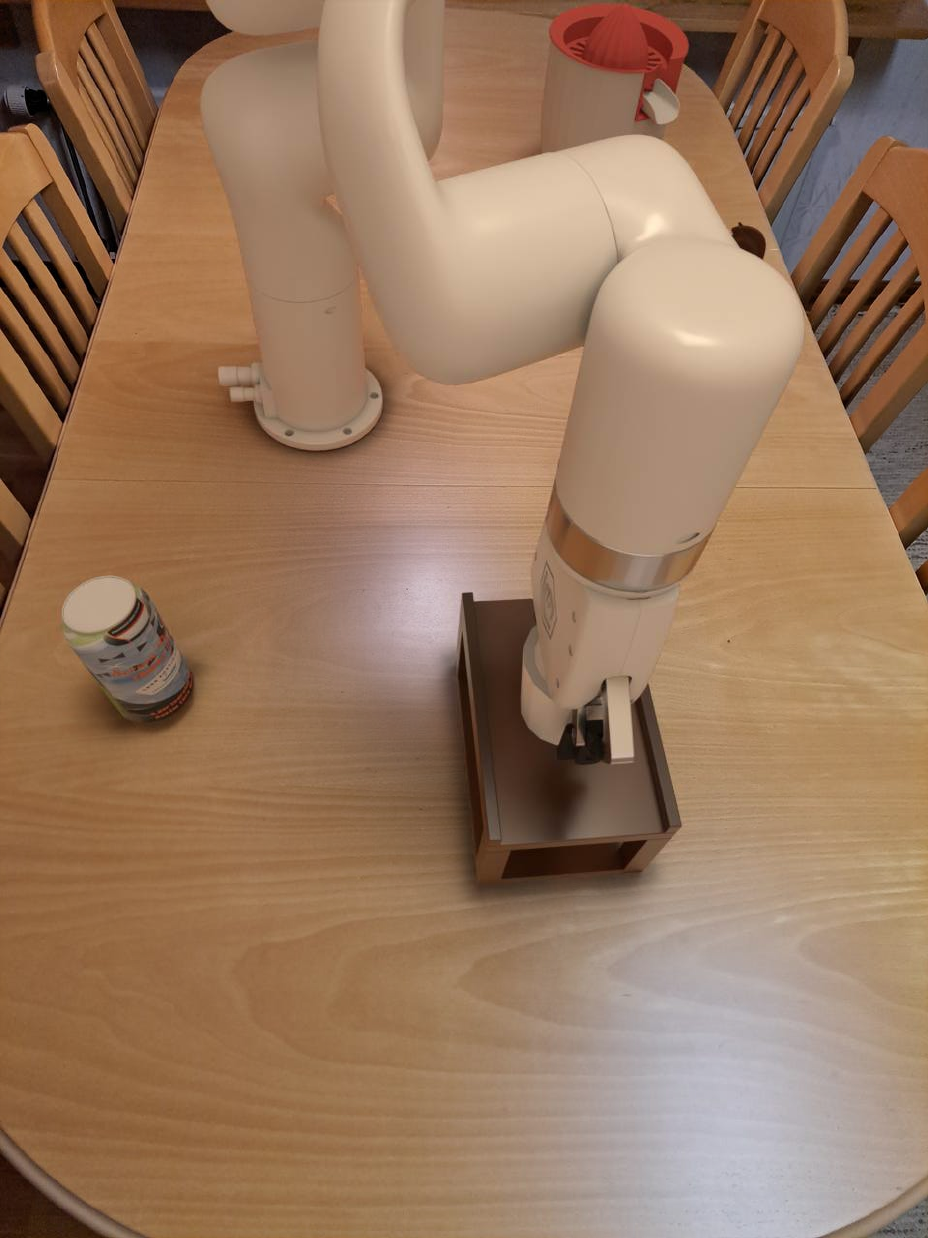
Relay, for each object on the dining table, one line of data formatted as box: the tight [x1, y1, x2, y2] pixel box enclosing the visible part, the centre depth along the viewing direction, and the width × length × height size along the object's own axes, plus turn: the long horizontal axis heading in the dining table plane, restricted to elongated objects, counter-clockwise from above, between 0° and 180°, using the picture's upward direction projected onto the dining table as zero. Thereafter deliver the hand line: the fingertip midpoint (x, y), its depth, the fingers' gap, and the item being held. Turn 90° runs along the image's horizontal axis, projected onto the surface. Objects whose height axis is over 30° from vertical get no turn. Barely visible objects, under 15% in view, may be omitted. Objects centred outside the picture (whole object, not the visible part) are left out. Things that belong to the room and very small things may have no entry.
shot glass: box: [521, 625, 603, 745], centre depth 53 cm, size 7×7×7 cm
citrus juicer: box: [539, 2, 690, 154], centre depth 97 cm, size 16×17×20 cm
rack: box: [454, 591, 683, 886], centre depth 59 cm, size 12×18×10 cm, turn 5°
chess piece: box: [730, 221, 767, 261], centre depth 90 cm, size 5×5×10 cm
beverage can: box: [61, 575, 195, 724], centre depth 60 cm, size 6×7×12 cm
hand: (568, 683), depth 53 cm, fingers open, 9 cm apart
